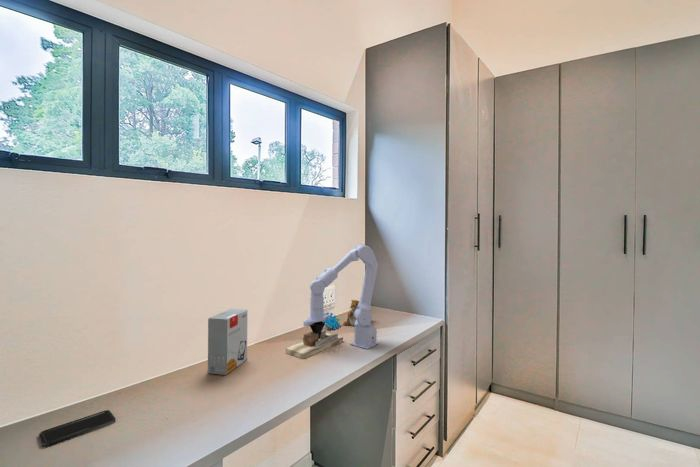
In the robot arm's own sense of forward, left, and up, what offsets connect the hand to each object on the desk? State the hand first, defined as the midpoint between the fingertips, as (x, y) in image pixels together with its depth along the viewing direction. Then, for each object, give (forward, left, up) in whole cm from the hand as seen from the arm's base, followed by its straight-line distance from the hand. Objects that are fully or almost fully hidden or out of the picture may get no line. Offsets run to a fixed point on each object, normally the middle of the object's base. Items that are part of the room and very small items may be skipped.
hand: (316, 339), depth 152 cm
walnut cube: (0, +4, -1) cm, 4 cm away
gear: (+12, -25, -4) cm, 28 cm away
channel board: (0, +1, -3) cm, 3 cm away
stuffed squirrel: (+6, -38, -3) cm, 39 cm away
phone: (+8, +83, -4) cm, 83 cm away
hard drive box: (+12, +36, -3) cm, 38 cm away
